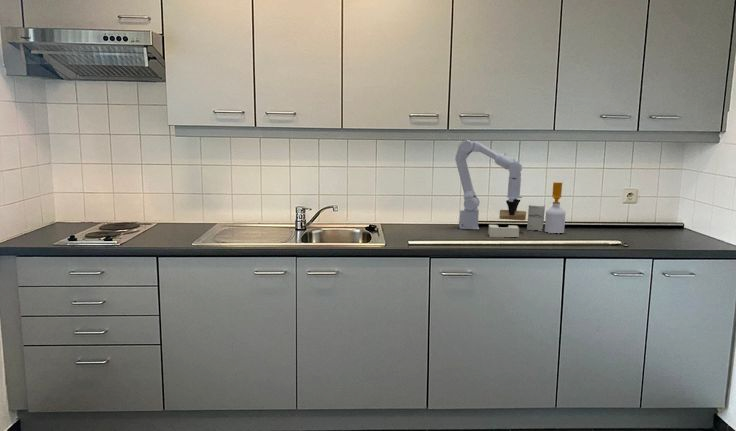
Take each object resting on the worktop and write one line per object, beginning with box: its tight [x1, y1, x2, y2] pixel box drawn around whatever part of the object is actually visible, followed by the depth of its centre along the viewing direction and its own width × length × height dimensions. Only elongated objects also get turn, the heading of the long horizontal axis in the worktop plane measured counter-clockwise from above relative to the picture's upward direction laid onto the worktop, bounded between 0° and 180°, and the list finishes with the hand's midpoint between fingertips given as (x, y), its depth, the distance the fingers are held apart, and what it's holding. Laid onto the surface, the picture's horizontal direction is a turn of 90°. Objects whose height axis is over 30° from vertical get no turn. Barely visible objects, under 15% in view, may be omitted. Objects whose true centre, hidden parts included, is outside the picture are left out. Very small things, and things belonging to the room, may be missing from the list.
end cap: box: [487, 224, 520, 238], centre depth 257 cm, size 13×7×4 cm, turn 83°
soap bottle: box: [544, 181, 566, 235], centre depth 266 cm, size 9×9×25 cm
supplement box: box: [526, 203, 546, 232], centre depth 274 cm, size 7×7×13 cm
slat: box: [499, 209, 527, 222], centre depth 267 cm, size 4×12×4 cm, turn 66°
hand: (512, 214), depth 267 cm, fingers closed on slat, 3 cm apart
